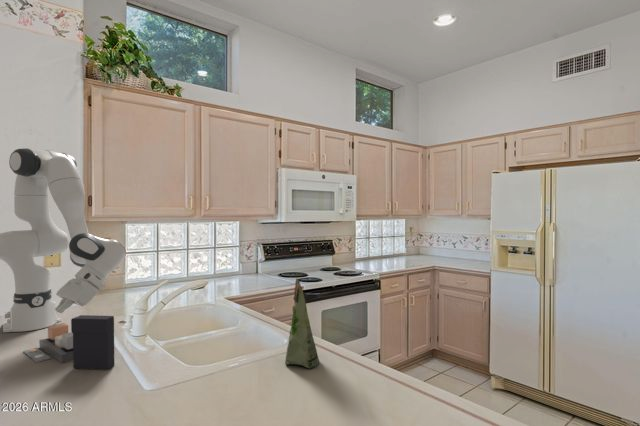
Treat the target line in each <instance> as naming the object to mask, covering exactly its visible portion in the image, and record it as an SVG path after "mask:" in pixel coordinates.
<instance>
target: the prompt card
mask: <svg viewBox="0 0 640 426" xmlns="http://www.w3.org/2000/svg"><path fill="white" fill-rule="evenodd" d="M22 353H24V354H25V355H26V354H27V355H26V356H28V357H29V358H30V357H31V358H32V359H31V358H30V359H31V360H32V361H34V362H35V363H41V362H44V361H47V360H48V361H49V360H51V356H49V355H48V354H47V353H46V352H45V351H44V352H43V350H42V349H40V348H38V347H34V348H30V349H25V350H23V351H22Z"/></svg>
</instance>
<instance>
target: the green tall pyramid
mask: <svg viewBox="0 0 640 426" xmlns="http://www.w3.org/2000/svg"><path fill="white" fill-rule="evenodd" d="M294 284H295V286H294V296H293V301H294V304H293V306H292V318H291V324H290V325H291V326H290V330H289V337H288V343H287V347H286V355H285V365H297V366H303V367H305V368H307V369H312V368H315V367H316V366H317V365H318V364H319V361H320V358H319V355H318V350H317V346H316V343H315V340H314V337H313V333H312V328H311V324H310V323H311V322H310V319H309V314H308V313H309V312H308V308H307V303H306V298H305V295H304V291H303V287H302V285H301V283H300V280H299V278H298V277H296V278H295V283H294Z"/></svg>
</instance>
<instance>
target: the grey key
mask: <svg viewBox="0 0 640 426" xmlns="http://www.w3.org/2000/svg"><path fill="white" fill-rule="evenodd" d="M62 346H63V347H64V348H66V349H72V348H73V333H72V331H70V332H68V333H66V334H62Z"/></svg>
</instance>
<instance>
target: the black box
mask: <svg viewBox="0 0 640 426" xmlns="http://www.w3.org/2000/svg"><path fill="white" fill-rule="evenodd" d="M70 326H71V327H70V328H71V329H70V332H72V333H73V360H72V362H73V369H75V370H99V371H100V370H101V371H108V370H109V369H112V368H113V367H115V316H114V315H93V314H92V315H84V314H81V315H78V316H75V317H72V318H71V320H70Z"/></svg>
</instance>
